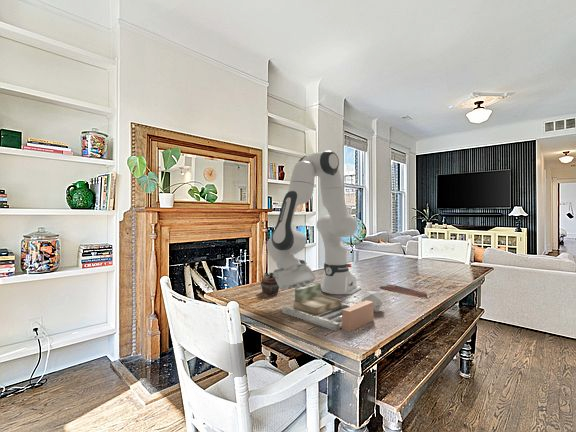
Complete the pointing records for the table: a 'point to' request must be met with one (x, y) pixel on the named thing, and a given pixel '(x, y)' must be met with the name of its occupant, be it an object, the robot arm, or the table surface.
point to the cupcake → (269, 284)
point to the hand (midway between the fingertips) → (305, 293)
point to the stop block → (357, 315)
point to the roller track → (320, 316)
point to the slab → (314, 300)
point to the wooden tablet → (404, 290)
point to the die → (373, 299)
